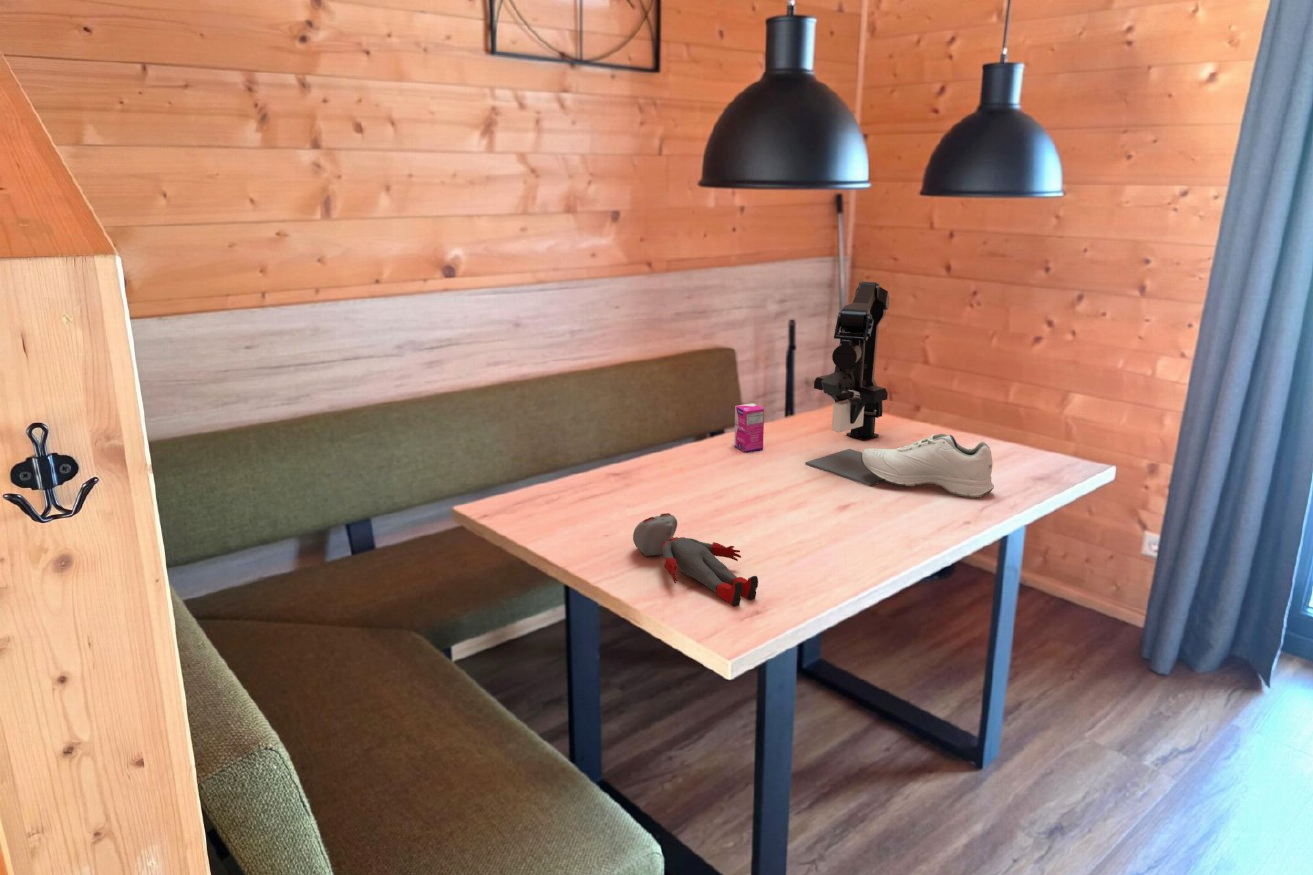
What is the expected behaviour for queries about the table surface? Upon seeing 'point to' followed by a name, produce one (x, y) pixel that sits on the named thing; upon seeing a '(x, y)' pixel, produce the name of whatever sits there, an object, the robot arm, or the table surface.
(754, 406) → the supplement box
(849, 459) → the charcoal mat
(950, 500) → the table surface
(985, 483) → the running shoe
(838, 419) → the cream rectangular block
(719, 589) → the toy
